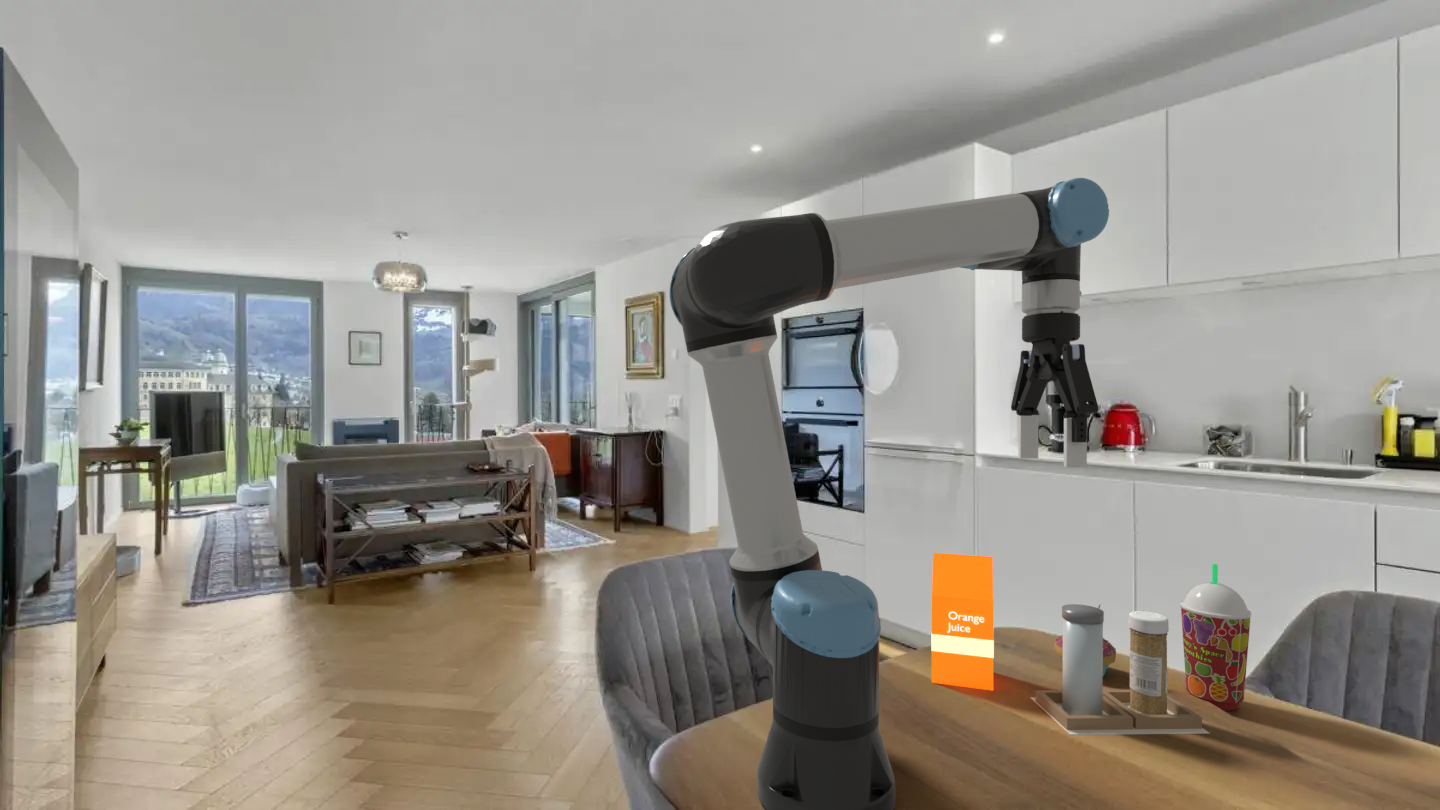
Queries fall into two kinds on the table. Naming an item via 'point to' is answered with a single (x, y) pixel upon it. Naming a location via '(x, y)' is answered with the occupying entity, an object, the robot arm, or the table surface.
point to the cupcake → (1108, 651)
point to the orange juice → (962, 621)
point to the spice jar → (1148, 663)
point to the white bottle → (1082, 659)
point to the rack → (1120, 716)
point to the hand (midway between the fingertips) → (1050, 462)
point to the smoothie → (1215, 643)
